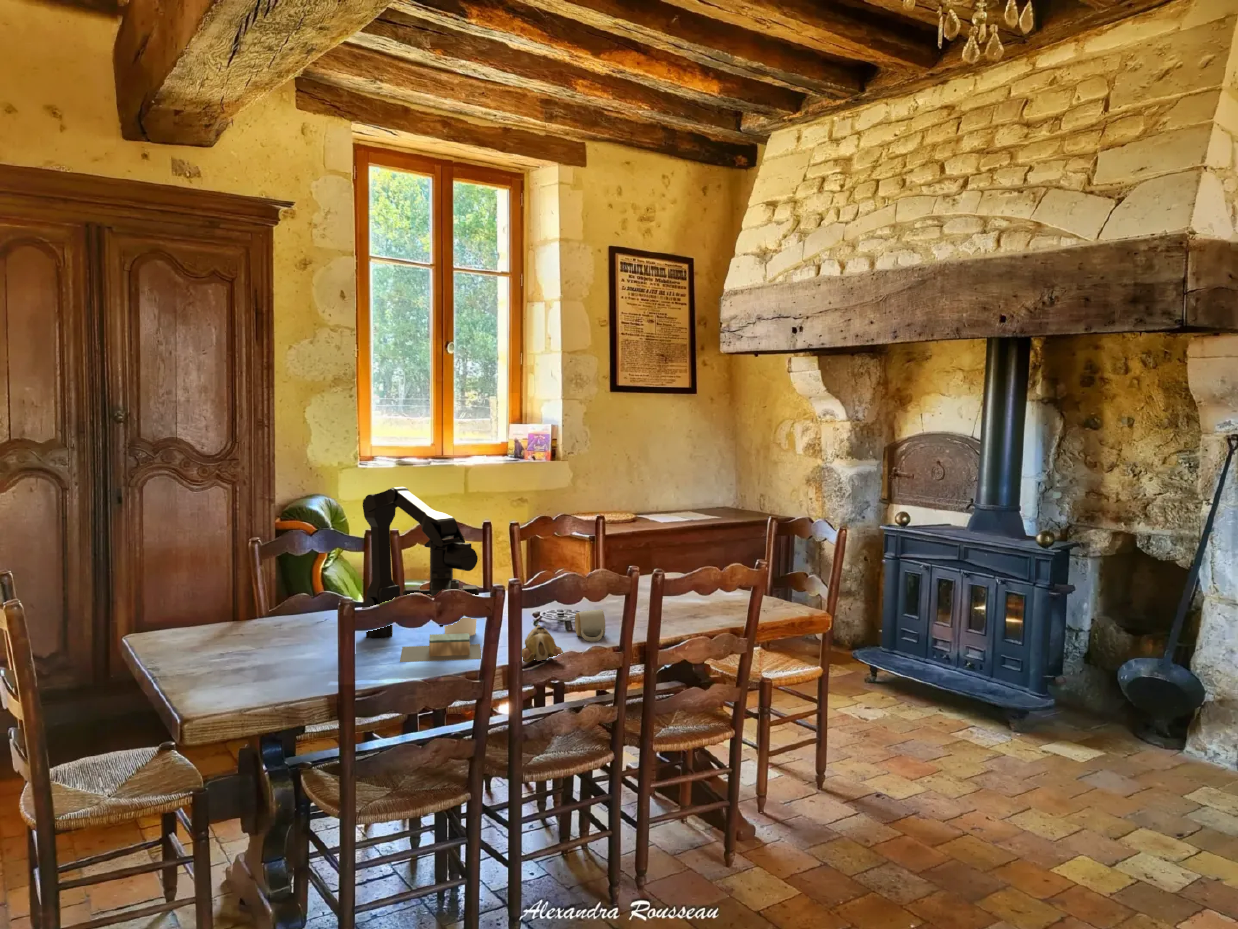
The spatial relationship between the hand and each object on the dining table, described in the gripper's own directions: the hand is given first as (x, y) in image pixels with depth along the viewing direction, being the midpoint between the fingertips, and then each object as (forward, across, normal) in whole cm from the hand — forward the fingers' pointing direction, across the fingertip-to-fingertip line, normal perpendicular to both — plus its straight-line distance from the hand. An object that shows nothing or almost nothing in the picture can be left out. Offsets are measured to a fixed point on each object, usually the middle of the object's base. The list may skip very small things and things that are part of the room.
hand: (441, 626), depth 228 cm
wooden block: (+5, -3, 0) cm, 6 cm away
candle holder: (+8, +5, +19) cm, 21 cm away
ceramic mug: (+8, +41, +13) cm, 44 cm away
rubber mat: (+8, 0, 0) cm, 8 cm away
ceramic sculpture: (+8, +25, -7) cm, 27 cm away
